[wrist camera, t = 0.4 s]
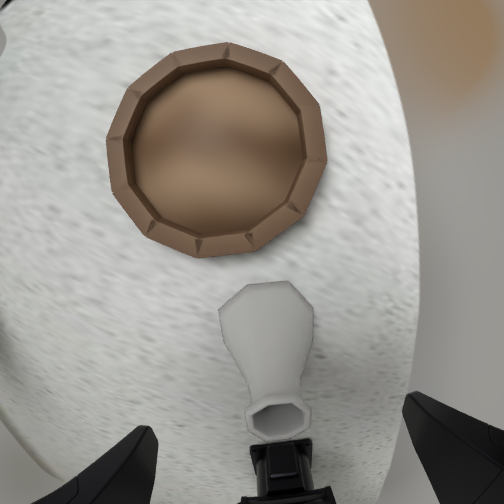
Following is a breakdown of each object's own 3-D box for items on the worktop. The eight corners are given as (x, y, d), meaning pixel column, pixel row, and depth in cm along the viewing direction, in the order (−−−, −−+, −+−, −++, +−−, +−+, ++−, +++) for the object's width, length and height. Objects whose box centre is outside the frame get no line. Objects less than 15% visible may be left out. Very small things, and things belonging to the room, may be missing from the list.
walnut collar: (329, 238, 20) (338, 246, 18) (135, 262, 20) (123, 272, 18) (304, 47, 16) (310, 33, 14) (113, 79, 16) (99, 70, 14)
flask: (325, 341, 22) (364, 433, 12) (243, 372, 23) (241, 471, 13) (294, 263, 20) (332, 337, 11) (202, 301, 21) (171, 393, 11)
